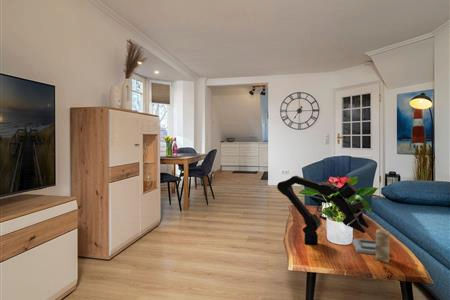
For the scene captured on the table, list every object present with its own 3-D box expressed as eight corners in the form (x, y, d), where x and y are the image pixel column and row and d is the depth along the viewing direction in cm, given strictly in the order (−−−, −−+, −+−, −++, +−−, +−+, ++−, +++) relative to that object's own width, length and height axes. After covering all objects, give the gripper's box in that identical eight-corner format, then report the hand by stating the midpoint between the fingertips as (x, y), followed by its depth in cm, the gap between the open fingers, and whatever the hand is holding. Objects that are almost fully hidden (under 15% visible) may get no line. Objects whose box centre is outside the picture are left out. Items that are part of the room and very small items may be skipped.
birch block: (375, 259, 117) (375, 232, 117) (376, 255, 121) (377, 229, 120) (388, 262, 114) (388, 234, 113) (389, 258, 118) (389, 231, 117)
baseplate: (357, 252, 125) (357, 247, 125) (352, 241, 138) (352, 237, 138) (389, 255, 121) (389, 250, 120) (381, 244, 134) (381, 239, 134)
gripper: (350, 197, 117) (377, 225, 110) (358, 191, 131) (382, 215, 125) (332, 212, 122) (357, 239, 115) (342, 204, 136) (365, 228, 130)
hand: (366, 230), depth 121 cm, fingers open, 9 cm apart
